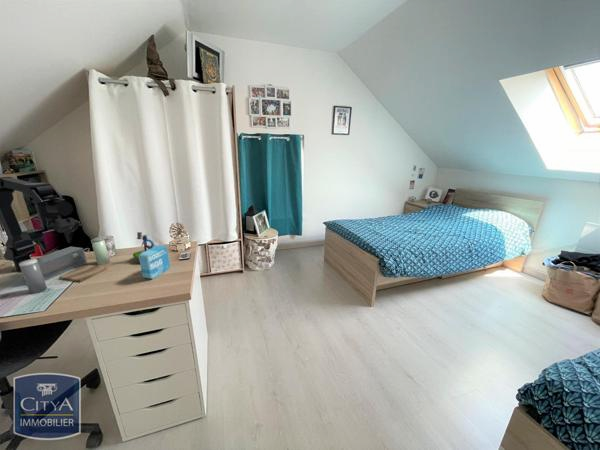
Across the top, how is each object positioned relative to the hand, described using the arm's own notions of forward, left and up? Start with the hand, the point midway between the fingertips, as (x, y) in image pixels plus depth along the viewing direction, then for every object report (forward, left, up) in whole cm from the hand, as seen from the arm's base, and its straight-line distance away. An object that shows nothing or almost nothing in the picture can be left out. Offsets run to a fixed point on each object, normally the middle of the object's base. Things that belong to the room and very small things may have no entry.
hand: (58, 247), depth 110 cm
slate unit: (-7, +1, -14) cm, 15 cm away
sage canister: (+5, +13, -14) cm, 20 cm away
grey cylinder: (+3, -13, -14) cm, 19 cm away
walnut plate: (+7, +2, -14) cm, 16 cm away
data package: (+39, +11, -14) cm, 43 cm away
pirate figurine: (+23, +23, -14) cm, 36 cm away
